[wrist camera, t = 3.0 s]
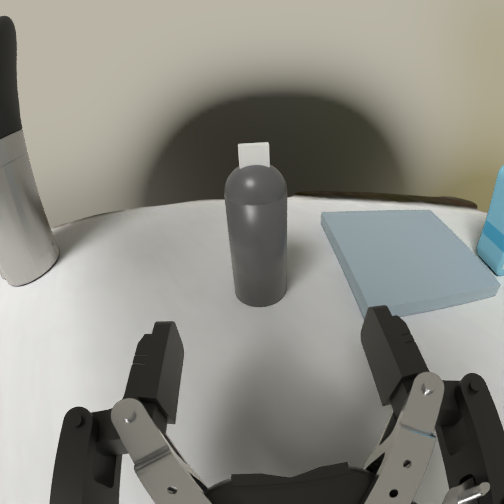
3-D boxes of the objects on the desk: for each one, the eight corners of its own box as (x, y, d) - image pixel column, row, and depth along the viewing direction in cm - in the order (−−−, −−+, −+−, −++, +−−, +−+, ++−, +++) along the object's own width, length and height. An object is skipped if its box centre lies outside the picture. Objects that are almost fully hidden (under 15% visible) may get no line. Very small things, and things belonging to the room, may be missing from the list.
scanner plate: (365, 322, 21) (369, 308, 20) (320, 223, 34) (321, 212, 33) (494, 295, 21) (500, 284, 20) (427, 219, 34) (429, 210, 33)
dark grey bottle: (235, 308, 23) (217, 154, 16) (235, 274, 27) (221, 140, 20) (288, 304, 23) (291, 150, 16) (282, 272, 27) (281, 136, 20)
